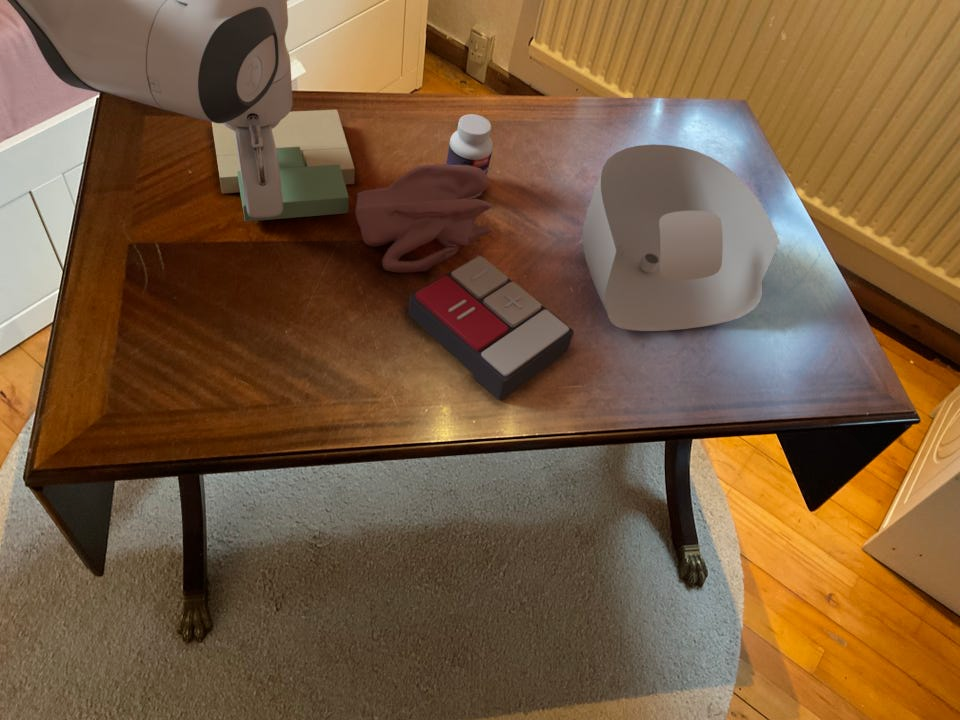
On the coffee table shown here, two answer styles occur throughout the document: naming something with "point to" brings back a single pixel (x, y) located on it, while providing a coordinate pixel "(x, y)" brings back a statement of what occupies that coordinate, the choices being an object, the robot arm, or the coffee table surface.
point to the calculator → (490, 326)
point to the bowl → (675, 240)
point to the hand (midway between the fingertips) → (258, 192)
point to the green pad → (306, 188)
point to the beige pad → (291, 144)
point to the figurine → (424, 214)
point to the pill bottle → (471, 143)
